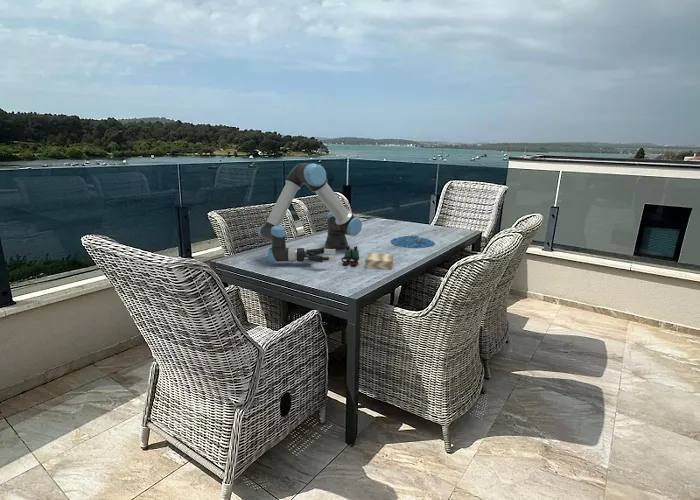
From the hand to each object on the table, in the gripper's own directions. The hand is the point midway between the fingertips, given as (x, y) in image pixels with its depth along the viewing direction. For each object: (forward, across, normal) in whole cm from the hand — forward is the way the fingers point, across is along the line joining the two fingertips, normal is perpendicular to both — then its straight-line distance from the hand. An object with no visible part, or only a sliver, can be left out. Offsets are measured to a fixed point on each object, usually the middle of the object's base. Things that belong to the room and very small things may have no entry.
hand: (335, 254), depth 208 cm
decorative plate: (+53, -52, -7) cm, 74 cm away
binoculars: (+8, 0, -6) cm, 10 cm away
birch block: (+25, 0, -6) cm, 26 cm away
